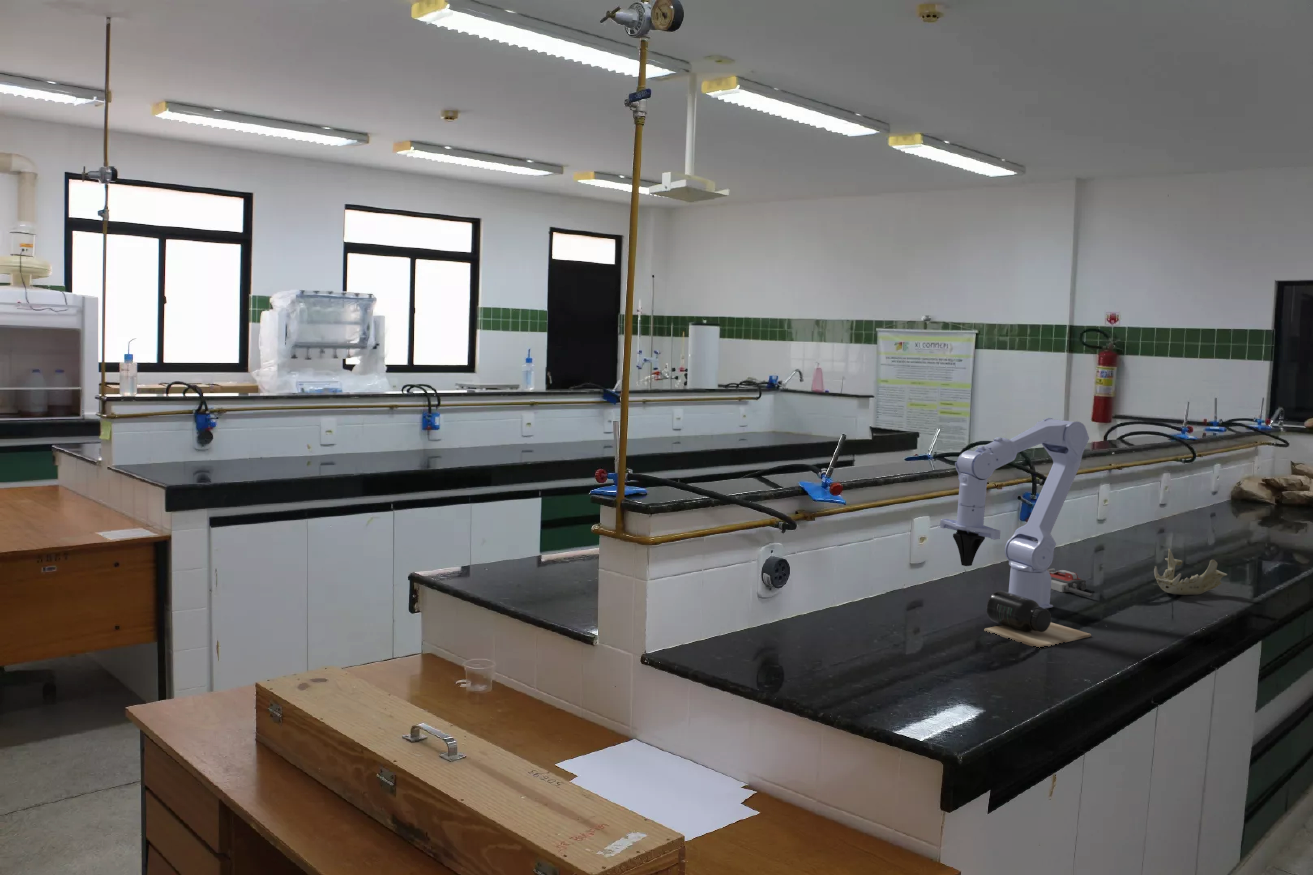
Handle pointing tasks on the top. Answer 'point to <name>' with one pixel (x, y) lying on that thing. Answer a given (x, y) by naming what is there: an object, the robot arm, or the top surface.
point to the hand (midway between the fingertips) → (966, 565)
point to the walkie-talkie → (1067, 582)
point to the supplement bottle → (1017, 612)
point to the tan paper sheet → (1040, 635)
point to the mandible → (1191, 585)
